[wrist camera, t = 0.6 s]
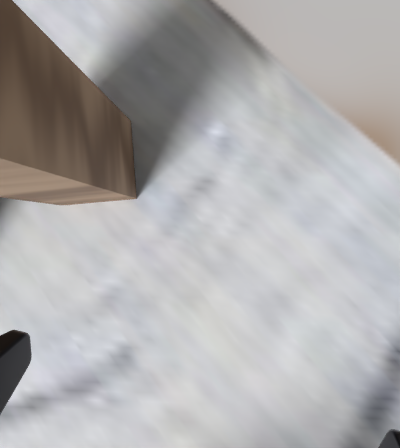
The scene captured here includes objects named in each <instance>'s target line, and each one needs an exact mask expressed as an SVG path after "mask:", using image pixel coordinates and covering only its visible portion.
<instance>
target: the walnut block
mask: <svg viewBox="0 0 400 448" xmlns="http://www.w3.org/2000/svg"><path fill="white" fill-rule="evenodd" d="M0 197H2V198H10V199H18V200H25V201H33V202H40V203H48V204H56V205H72V204H83V203H94V202H105V201H117V200H128V199H137V196H136V183H135V169H134V156H133V143H132V129H131V121H130V120H129V119H128V118H127V117H126V116H125V115H124V114H123V113H122V112H121V111H120V110H119V109H118V107H117V106H116V105H115V104H114V103H113V102H112V101H111V100H110V99H109V98H108V97H107V96H106V95H105V94H104V93H103V92H102V91H101V90H100V89H99V88H98V87H97V86H96V85H95V84H94V83H93V82H92V81H91V80H90V79H89V78H88V77H87V76H86V75H85V74H84V73H83V72H82V71H81V70H80V69H79V68H78V67H77V66H76V65H75V64H74V63H73V62H72V61H71V60H70V59H69V58H68V57H67V56H66V55H65V54H64V53H63V52H62V51H61V50H60V49H59V48H58V47H57V46H56V44H55V43H54V42H53V41H52V40H51V39H50V38H49V37H48V36H47V35H46V34H45V33H44V32H43V31H42V30H41V29H40V28H39V27H38V26H37V25H36V24H35V23H34V22H33V21H32V20H31V19H30V18H29V17H28V16H27V15H26V14H25V13H24V12H23V11H22V10H21V9H20V8H19V7H18V6H17V5H16V4H15V3H14V2H13V1H12V0H0Z"/></svg>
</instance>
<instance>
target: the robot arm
mask: <svg viewBox="0 0 400 448" xmlns="http://www.w3.org/2000/svg"><path fill="white" fill-rule="evenodd" d="M30 361H31V344H30V336H29V334H28V333H25V332H22V331H18V330H12V331H9V332H7V333H5V334H3V335H1V336H0V414H1V413H2V411H3V409H4V407H5V406H6V404H7V402H8V400H9V399H10V397H11V395H12V394H13V392H14V390H15V388H16V387H17V385H18V383H19V382H20V380H21V378H22V376H23V375H24V373H25V371H26V369H27V368H28V366H29V364H30ZM378 448H400V431H398V430H394V429H391V430H389V431H388V432H387V434H386V436H385V437H384V439H383V441H382V442H381V444H380V446H379V447H378Z"/></svg>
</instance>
